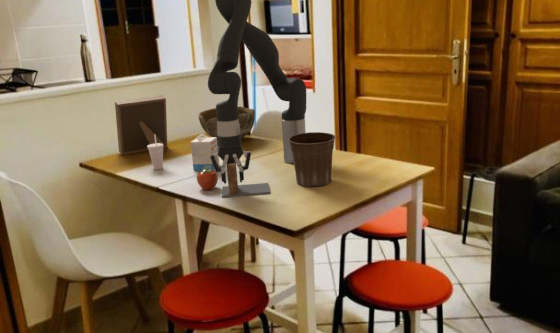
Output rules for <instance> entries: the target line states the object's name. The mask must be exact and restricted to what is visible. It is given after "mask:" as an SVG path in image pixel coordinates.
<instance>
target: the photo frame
mask: <svg viewBox="0 0 560 333" xmlns="http://www.w3.org/2000/svg"><path fill="white" fill-rule="evenodd" d="M114 108H115V118H116V119H115V120H116V130H117V131H116V133H117V142H118V152H119V154H120V155H121V156H126V155H130V154H135V153H142V152H149V149H148V147H147V146H148V145H150V144H155V138H154V134H155V135H156V143H161V144H163V154H164V153H165V148H168V128H167V127H168V126H167V98H166V97H165V96H164V95H163V94H161V95H151V96H145V97H138V98H137V97H136V98H129V99H121V100H114Z"/></svg>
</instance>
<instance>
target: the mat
mask: <svg viewBox="0 0 560 333" xmlns="http://www.w3.org/2000/svg"><path fill="white" fill-rule="evenodd" d="M269 194H271V191H270V185H269V182H260V183H250V184H238V194H234V195H229V188H228V185H227V186H226V185H224V186H222V190H221V198H223V199H224V198H233V197H244V196H259V195H269Z"/></svg>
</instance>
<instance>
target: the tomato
mask: <svg viewBox="0 0 560 333" xmlns="http://www.w3.org/2000/svg"><path fill="white" fill-rule="evenodd" d="M218 180H219V176H218V172H216V171H215V170H212V169H208V167H205V169H204V170H200V172H199V173H198V174H197V175H196V182H197V184H198V186H199V188H201V189H202V190H204V191H210V190H214V189H215V188H216V185H217V184H218Z"/></svg>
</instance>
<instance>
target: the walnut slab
mask: <svg viewBox="0 0 560 333" xmlns="http://www.w3.org/2000/svg"><path fill="white" fill-rule="evenodd" d="M226 178H227V184H228V185H227V186H228V188H229V195H234V194H238V185H239V184H238V183H239V182H238V171H237V164H236V163H227V164H226Z"/></svg>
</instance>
